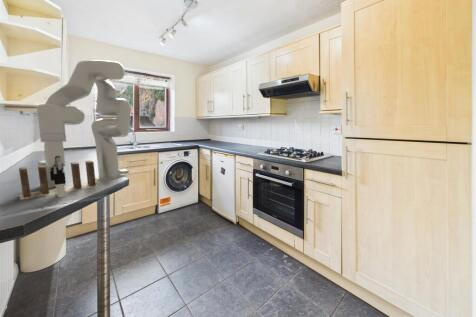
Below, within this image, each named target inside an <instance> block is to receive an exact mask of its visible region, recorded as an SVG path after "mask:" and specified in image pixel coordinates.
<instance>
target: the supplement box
mask: <svg viewBox="0 0 476 317" xmlns="http://www.w3.org/2000/svg"><path fill="white" fill-rule="evenodd" d="M43 165H44V166H45V167H46V161H45V160H38V161H37V167H38V166H43ZM64 167H65V166H64ZM64 167H63V168H64ZM64 169H65V168H64ZM50 171H51V170H50V169H49V168H48V167H46V173H47V181H48V188H49V189H53V188H56V185H55V182H54V181H52V180H51V176H50ZM66 185H67V183H65V184H64V186H66Z"/></svg>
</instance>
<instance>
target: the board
mask: <svg viewBox="0 0 476 317" xmlns="http://www.w3.org/2000/svg"><path fill="white" fill-rule="evenodd" d="M81 187H82V188H79V189H76V188H74V186H73V185H70V186H64V188H65V193H68V192H72V191H78V190H83V189H90V188H94V187H95V188H97V187H100V184H97V183H96V186H89V185H88V183H84V184H83V183H81ZM30 194H31V197H26V198H24V197H23V193H22V194H21V193H20V194H19V195H18V196H19V199H20V201H21V200H27V199H28V200H29V199H34V198H37V197H38V198H39V197H44V196H49V195H57V192H56V188H50V189H49V194H44V195H43V194H42V192H41V190H39V191H34V192H33V191H32V192H30Z"/></svg>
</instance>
